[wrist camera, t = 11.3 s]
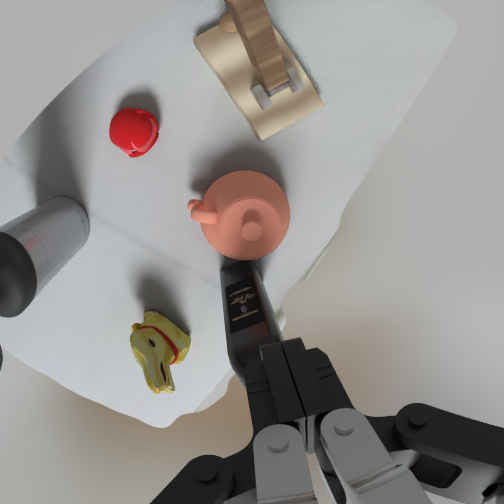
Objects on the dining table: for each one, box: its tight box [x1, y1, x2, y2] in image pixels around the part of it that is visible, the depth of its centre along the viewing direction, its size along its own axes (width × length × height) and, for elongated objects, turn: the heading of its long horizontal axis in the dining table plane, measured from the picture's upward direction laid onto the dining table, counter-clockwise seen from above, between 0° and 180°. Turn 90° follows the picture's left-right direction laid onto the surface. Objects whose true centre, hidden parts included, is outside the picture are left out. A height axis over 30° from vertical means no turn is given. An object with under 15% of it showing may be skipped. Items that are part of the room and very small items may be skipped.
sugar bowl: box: [188, 170, 290, 260], centre depth 40 cm, size 12×14×10 cm
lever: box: [224, 0, 289, 91], centre depth 25 cm, size 4×4×20 cm
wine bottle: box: [220, 260, 284, 388], centre depth 35 cm, size 6×6×30 cm
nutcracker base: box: [193, 11, 324, 141], centre depth 35 cm, size 18×10×6 cm, turn 32°
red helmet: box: [109, 108, 159, 157], centre depth 36 cm, size 8×6×6 cm
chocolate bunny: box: [130, 311, 191, 394], centre depth 43 cm, size 7×11×15 cm, turn 40°
